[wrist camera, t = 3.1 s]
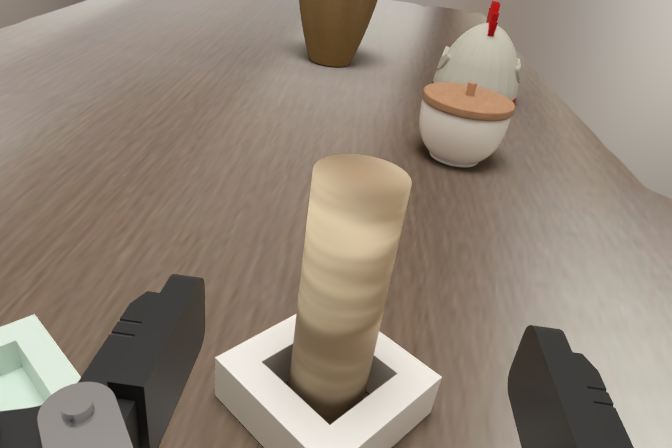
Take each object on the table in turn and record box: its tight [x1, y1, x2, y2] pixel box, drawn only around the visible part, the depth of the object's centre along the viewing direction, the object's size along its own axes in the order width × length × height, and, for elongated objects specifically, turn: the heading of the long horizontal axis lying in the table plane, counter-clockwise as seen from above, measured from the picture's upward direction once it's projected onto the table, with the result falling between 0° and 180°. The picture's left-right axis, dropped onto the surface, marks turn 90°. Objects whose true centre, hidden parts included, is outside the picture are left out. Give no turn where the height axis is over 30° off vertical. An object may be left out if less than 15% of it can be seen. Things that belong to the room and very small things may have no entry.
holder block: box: [215, 314, 442, 448], centre depth 31 cm, size 9×9×3 cm
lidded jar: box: [419, 81, 515, 168], centre depth 64 cm, size 11×11×9 cm
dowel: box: [288, 154, 412, 425], centre depth 28 cm, size 4×4×15 cm
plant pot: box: [299, 0, 377, 67], centre depth 94 cm, size 15×15×16 cm
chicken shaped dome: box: [433, 1, 521, 104], centre depth 86 cm, size 14×14×15 cm
